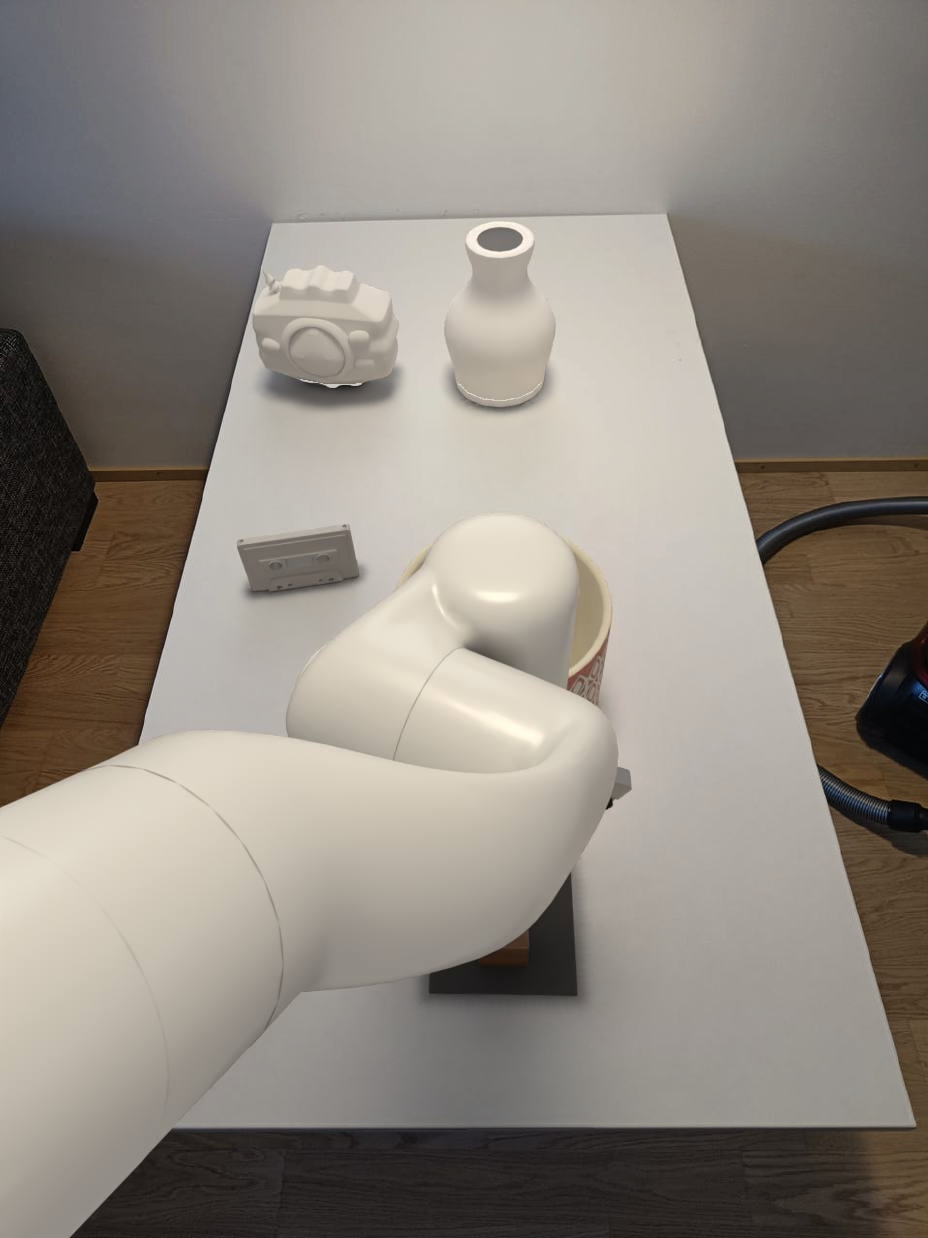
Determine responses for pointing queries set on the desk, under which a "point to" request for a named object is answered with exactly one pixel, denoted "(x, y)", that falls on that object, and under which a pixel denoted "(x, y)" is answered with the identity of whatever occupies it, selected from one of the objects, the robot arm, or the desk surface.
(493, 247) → the vase
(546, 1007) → the desk surface
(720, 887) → the desk surface
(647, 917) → the desk surface
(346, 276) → the camera
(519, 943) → the bar
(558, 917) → the black mat
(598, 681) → the planter
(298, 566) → the cassette
